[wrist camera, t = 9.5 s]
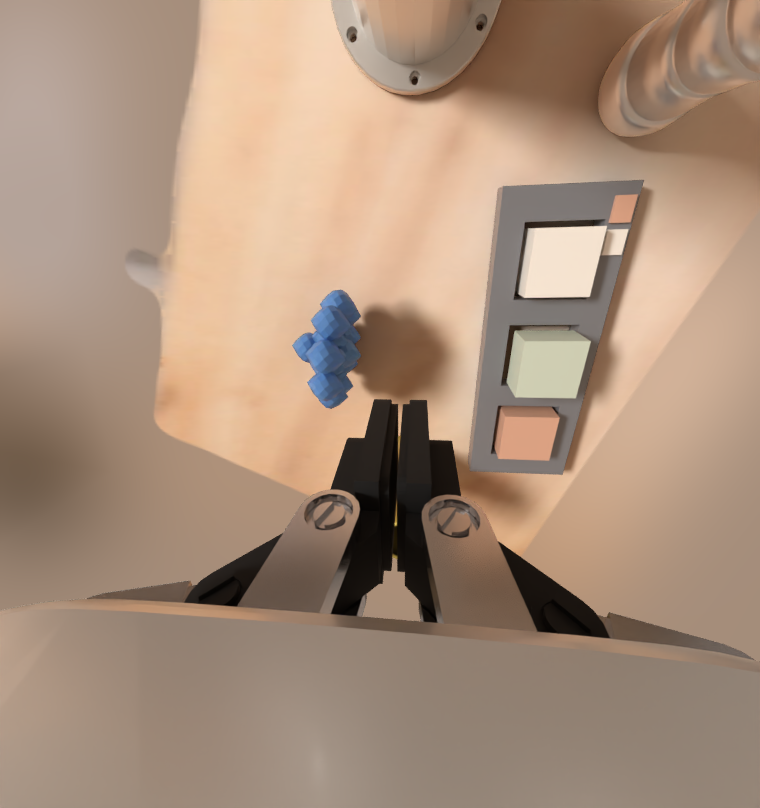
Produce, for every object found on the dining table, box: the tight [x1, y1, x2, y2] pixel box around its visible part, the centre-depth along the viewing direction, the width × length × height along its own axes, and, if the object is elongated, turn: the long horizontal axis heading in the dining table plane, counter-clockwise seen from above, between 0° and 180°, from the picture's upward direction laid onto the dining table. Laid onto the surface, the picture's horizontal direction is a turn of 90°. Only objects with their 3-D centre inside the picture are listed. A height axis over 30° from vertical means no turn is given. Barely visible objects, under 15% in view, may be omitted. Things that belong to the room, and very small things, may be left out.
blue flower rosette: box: [292, 290, 361, 409], centre depth 32 cm, size 12×7×12 cm, turn 173°
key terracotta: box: [493, 406, 560, 461], centre depth 39 cm, size 6×6×4 cm
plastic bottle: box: [598, 0, 760, 137], centre depth 17 cm, size 6×7×20 cm
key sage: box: [507, 330, 591, 398], centre depth 33 cm, size 6×6×4 cm
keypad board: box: [468, 180, 644, 475], centre depth 35 cm, size 30×11×2 cm, turn 2°
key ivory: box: [515, 226, 607, 298], centre depth 31 cm, size 6×6×4 cm
